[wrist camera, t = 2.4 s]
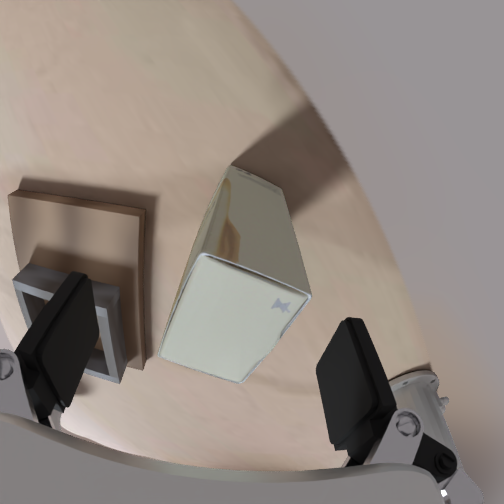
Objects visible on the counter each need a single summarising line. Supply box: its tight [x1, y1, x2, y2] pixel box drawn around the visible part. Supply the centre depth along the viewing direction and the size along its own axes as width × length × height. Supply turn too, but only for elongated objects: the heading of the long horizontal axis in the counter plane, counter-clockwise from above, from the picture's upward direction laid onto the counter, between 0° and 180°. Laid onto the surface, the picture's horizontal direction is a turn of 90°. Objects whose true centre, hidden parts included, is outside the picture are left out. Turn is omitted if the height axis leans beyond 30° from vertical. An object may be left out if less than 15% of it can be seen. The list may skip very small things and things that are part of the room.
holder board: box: [8, 190, 146, 384], centre depth 23 cm, size 14×18×4 cm
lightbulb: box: [50, 409, 62, 432], centre depth 31 cm, size 6×6×11 cm
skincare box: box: [158, 165, 312, 384], centre depth 16 cm, size 6×4×12 cm
